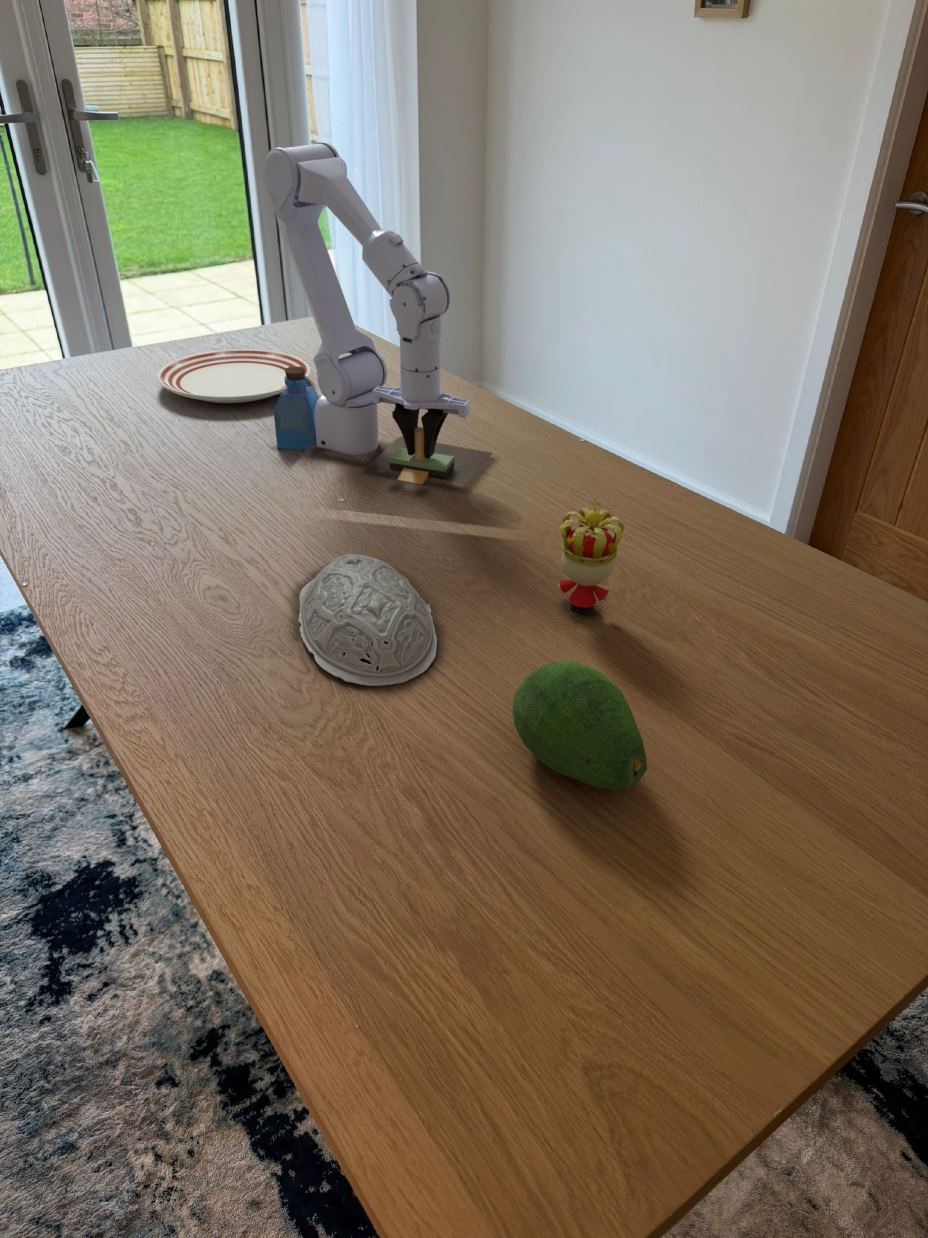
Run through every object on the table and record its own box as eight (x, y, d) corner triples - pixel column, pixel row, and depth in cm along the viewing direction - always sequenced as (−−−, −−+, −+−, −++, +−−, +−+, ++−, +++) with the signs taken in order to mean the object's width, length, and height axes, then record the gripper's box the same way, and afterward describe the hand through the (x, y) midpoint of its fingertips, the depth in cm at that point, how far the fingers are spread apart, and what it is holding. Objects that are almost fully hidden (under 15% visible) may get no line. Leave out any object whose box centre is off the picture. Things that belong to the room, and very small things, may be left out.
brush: (389, 468, 136) (388, 430, 132) (399, 457, 139) (398, 420, 135) (445, 478, 133) (445, 439, 130) (454, 466, 136) (454, 428, 133)
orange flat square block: (394, 489, 133) (394, 485, 132) (404, 471, 135) (403, 467, 134) (419, 494, 132) (419, 490, 131) (429, 475, 134) (428, 471, 133)
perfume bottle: (324, 435, 148) (319, 364, 142) (315, 450, 143) (309, 377, 136) (287, 432, 149) (280, 361, 142) (277, 448, 144) (269, 375, 137)
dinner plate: (172, 362, 175) (169, 345, 173) (313, 360, 178) (312, 344, 176) (147, 416, 153) (143, 398, 151) (308, 413, 156) (307, 395, 154)
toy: (617, 600, 110) (633, 490, 101) (605, 632, 104) (621, 518, 95) (560, 589, 111) (571, 479, 103) (545, 620, 106) (556, 507, 97)
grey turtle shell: (315, 693, 93) (317, 638, 89) (285, 578, 113) (286, 530, 110) (457, 681, 97) (464, 629, 94) (404, 574, 118) (408, 527, 114)
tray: (368, 472, 137) (367, 465, 137) (400, 442, 147) (399, 436, 146) (465, 491, 133) (465, 483, 132) (492, 459, 142) (492, 452, 141)
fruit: (666, 798, 83) (683, 716, 77) (576, 836, 79) (588, 753, 73) (573, 703, 93) (583, 625, 88) (491, 732, 89) (495, 653, 84)
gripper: (361, 366, 125) (365, 456, 133) (458, 381, 122) (456, 473, 129) (382, 351, 131) (385, 438, 139) (475, 365, 127) (473, 454, 135)
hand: (420, 454), depth 134 cm, fingers closed on brush, 2 cm apart
